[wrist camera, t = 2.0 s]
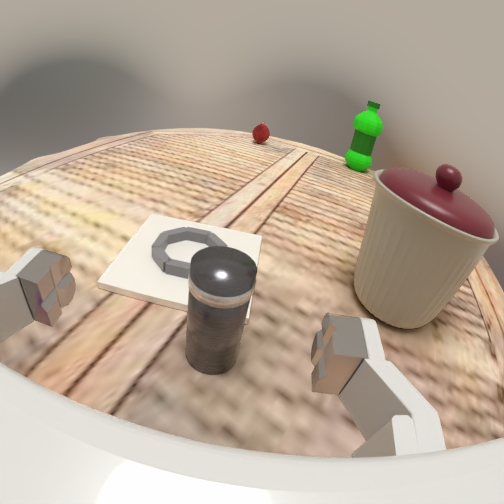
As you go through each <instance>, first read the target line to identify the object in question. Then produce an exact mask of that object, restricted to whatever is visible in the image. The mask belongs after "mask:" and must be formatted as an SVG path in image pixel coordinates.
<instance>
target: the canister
mask: <svg viewBox="0 0 504 504" xmlns="http://www.w3.org/2000/svg"><path fill="white" fill-rule="evenodd" d="M374 181H375V182H376V188H375V192H374V197H373V201H372V205H371V209H370V213H369V217H368V221H367V225H366V229H365V233H364V236H363V240H362V244H361V248H360V252H359V256H358V260H357V264H356V268H355V272H354V287H355V292H356V294H357V296H358V299H359V300H360V301H361V304H363V305H364V306H365V308H366V309H367V310H368V311H369V312H370V313H371V314H373V315H374V316H375V317H376V318H378V319H380V321H383V322H385V323H386V324H390V325H392V326H396V327H398V328H403V329H407V328H408V329H413V328H419V327H421V326H424V325H426V324H427V323H428V322H430V321H431V320H433V319H434V318H435V317H436V316H437V315H438V314H439V312H440V311H441V310H442V309H443V308H444V307H445V306H446V304H447V303H448V302H449V301H450V300H451V298H452V297H453V296H454V295H455V293H456V292H457V291H458V290H459V288H460V287H461V286H462V284H463V283H464V282H465V280H466V279H467V278H468V276H469V275H470V273H471V272H472V271H473V269H474V268H475V266H476V265H477V264H478V262H479V261H480V259H481V258H482V256H483V255H484V253H485V252H486V250H487V248H488V247H489V245H492V244H495V243H496V242H497V241H498V239H499V235H498V232H497V230H496V229H495V227H494V224H493V221H492V219H491V218H490V216H489V215H488V214H487V212H486V211H485V210H484V209H483V208H482V207H481V206H479V205H478V204H477V203H476V202H475V201H473V200H472V199H470V198H469V197H468V196H467V195H465V194H463V193H462V192H460V191H459V190H457V188H459V186H460V185H461V183H462V176H461V173H460V172H459V171H458V170H457V169H456V168H455V167H453V166H451V165H448V164H443V165H441V166H439V167H438V168H437V171H436V178H434V177H431V176H429V175H426V174H424V173H420V172H418V171H415V170H411V169H407V168H401V167H391V168H387V169H385V170H378V171H376V172H375V173H374Z"/></svg>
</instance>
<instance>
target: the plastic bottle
mask: <svg viewBox="0 0 504 504" xmlns="http://www.w3.org/2000/svg"><path fill="white" fill-rule="evenodd" d="M368 106H369V107H368V110H367V111H365V112H362V113H360V114H358V115H357V116H356V117H355V119H354V128H355V133H354V137H353V141H352V144H351V147H350V149H349V150H348V151H347V153H346V155H345V160H346V162H347V164H348V165H349V167H350V168H351V169H353V170H356V171H360V172H362V171H364V170H366V169H368V168H369V167H370V165H371V163H372V156H371V154H372V151H373V148H374V144H375V141H376V137H377V136H378V135H380V134H381V132H382V129H383V123H382V122H381V120H380V118H379V116H378V115H377V109H379V107H380V104H377V103H374V102H371V101H368Z"/></svg>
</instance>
